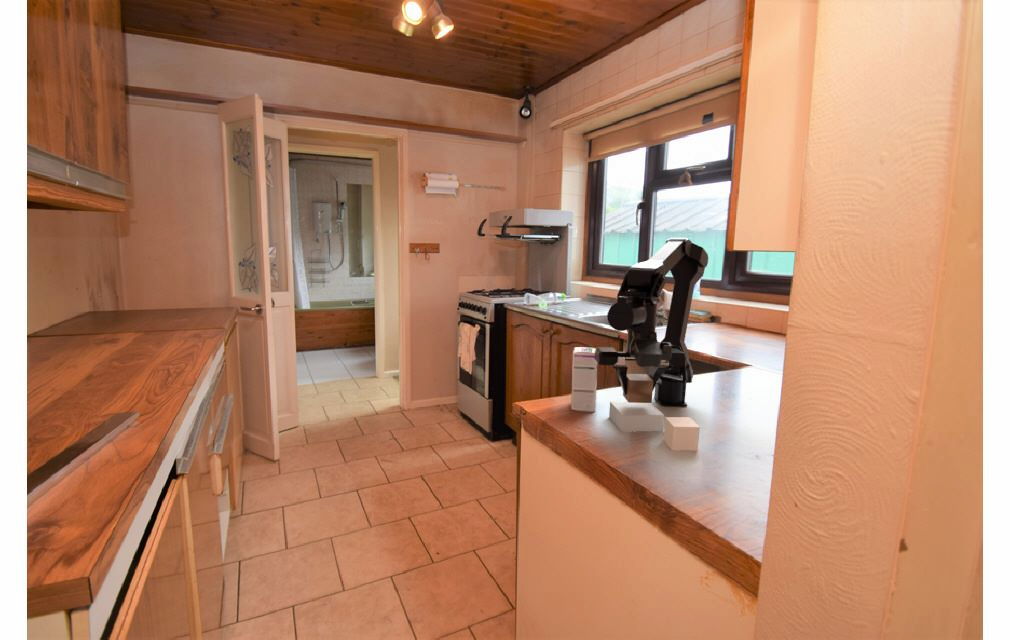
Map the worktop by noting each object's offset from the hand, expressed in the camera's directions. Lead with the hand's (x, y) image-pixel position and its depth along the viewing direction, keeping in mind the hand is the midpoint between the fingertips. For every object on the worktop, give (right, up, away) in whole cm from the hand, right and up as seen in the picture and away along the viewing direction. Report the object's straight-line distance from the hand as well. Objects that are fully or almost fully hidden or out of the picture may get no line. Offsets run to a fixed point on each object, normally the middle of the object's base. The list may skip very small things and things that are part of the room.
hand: (637, 394), depth 103 cm
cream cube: (+6, -9, -10) cm, 14 cm away
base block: (0, -7, +1) cm, 7 cm away
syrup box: (-10, -5, +11) cm, 16 cm away
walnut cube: (0, -1, 0) cm, 1 cm away
